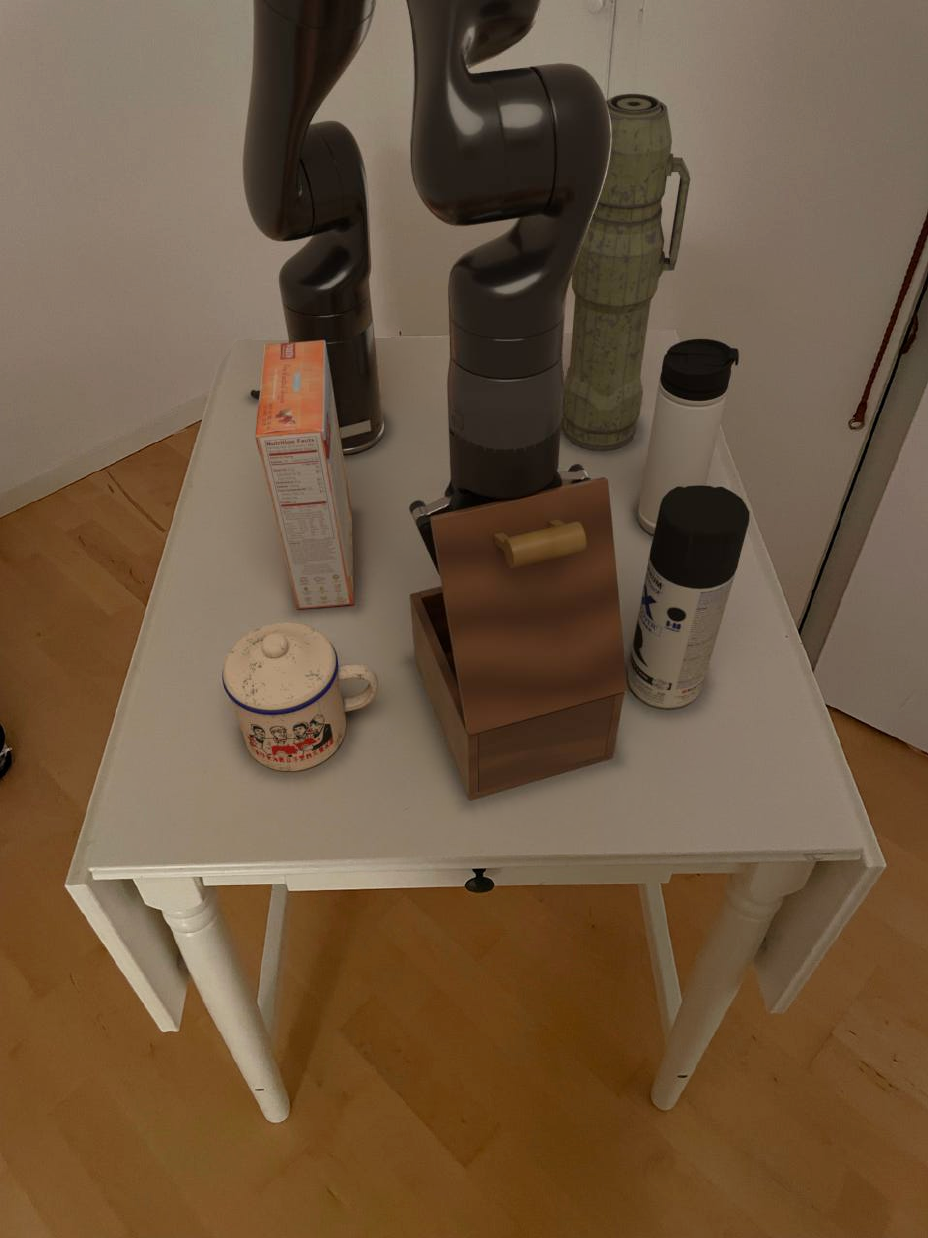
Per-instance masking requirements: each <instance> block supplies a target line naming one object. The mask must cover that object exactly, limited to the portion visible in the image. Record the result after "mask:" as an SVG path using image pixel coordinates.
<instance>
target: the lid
mask: <svg viewBox="0 0 928 1238" xmlns="http://www.w3.org/2000/svg"><path fill="white" fill-rule="evenodd" d="M591 479H592V478H591ZM611 506H612V505H611V494H610V484H609V479H608V478H607V477H605V476H601V477H596V478H593V479H592V480H588V481H584V482H579V483H575V484H571V485H566V486H562V487H557V488H553V489H549V490H544V491H540V492H536V493H533V494H531V495H528V496H525V497H520V498H514V499H505V500H501V501H496V502H492V503H488V504H483V505H479V506H475V507H470V508H466V509H461V510H457V511H453V512H448V513H444V514H440V515H435V516H431V517H430V522H431V528H432V533H433V539H434V545H435V551H436V557H437V563H438V568H439V574H440V576H439V580H440V586H442V592H443V597H444V603H445V609H446V615H447V621H448V627H449V632H450V638H451V644H452V650H453V656H454V661H455V667H456V673H457V679H458V685H459V690H460V696H461V702H462V708H463V714H464V720H465V725H466V731H467V732H468V734H469V735H473V734H476V733H480V732H483V731H487V730H491V729H494V728H498V727H501V726H505V725H508V724H512V723H515V722H519V721H522V720H526V719H530V718H533V717H537V716H540V715H544V714H547V713H551V712H554V711H558V710H561V709H565V708H568V707H572V706H576V705H579V704H583V703H586V702H590V701H593V700H597V699H600V698H604V697H607V696H611V695H614V694H618V693H622V692H624V693H625V692H627V691H628V682H627V681H628V680H627V671H626V660H625V650H624V639H623V628H622V626H623V625H622V617H621V616H622V615H621V605H620V595H619V583H618V573H617V562H616V561H617V560H616V549H615V539H614V529H613V518H612V517H613V516H612V510H611V509H612V507H611ZM439 574H438V575H439Z"/></svg>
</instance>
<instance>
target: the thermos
mask: <svg viewBox="0 0 928 1238" xmlns="http://www.w3.org/2000/svg"><path fill="white" fill-rule="evenodd" d="M606 102H607V105H608V110H609V115H610V120H611V135H612V140H611V151H610V159H609V165H608V170H607V174H606V178H605V181H604V185H603V188H602V191H601V194H600V198H599V200H598V203H597V206H596V208H595V211H594V214H593V216H592V219H591V222H590V224H589V227H588V229H587V232H586V235H585V238H584V240H583V243H582V246H581V249H580V252H579V255H578V259H577V262H576V265H575V268H574V271H573V274H572V277H571V289H572V291H573V294H574V306H573V307H574V308H573V318H572V319H573V320H572V332H571V333H572V334H571V347H570V358H569V359H570V360H569V365H568V369H567V371H566V374H565V377H564V392H563V393H564V406H563V409H562V421H561V431H562V432H561V433H562V434H563V435H564V437H565V438H566V439H567V440H568V441H569V442H570V443H571V444H573V445H575V446H578V447H580V448H582V449H585V450H586V449H587V450H591V451H601V452H602V451H604V452H605V451H606V452H607V451H612V450H618V449H620V448H622V447H625V446H627V445H628V444H629V443H630V442H631V441H633V439H634V437H635V435H636V432H637V421H638V419H639V416H640V415H641V407H642V401H643V396H644V395H643V394H644V391H643V382H642V379H641V374H642V366H643V359H644V352H645V346H646V340H647V339H646V338H647V332H648V323H649V318H650V311H651V310H650V309H651V304H652V303H651V302H652V300H653V298H654V296H655V294H656V292H657V291H658V288H659V287H658V286H659V279H660V278H661V277H662V275H663V273H664V272H669V271H675V268H676V264H677V261H678V258H679V257H678V256H679V252H680V245H681V241H682V233H683V229H684V228H683V226H684V221H685V214H686V208H687V202H688V195H689V190H690V184H691V177H690V176H691V175H690V171H689V169H688V167H687V165H686V163H685V160H684V158H683V157H678V156H677V157H675V156H674V153H671V152H672V151H671V150H672V143H673V137H672V130H671V129H672V128H671V123H670V118H669V117H670V116H669V111H668V107H667V105H666V104H665V103H664V102H663V101H660V100H659V99H658V98H657V97H654V96H652V95H648V94H643V93H623V94H618V95H614V96H612V97H610V98H609V99H606ZM673 173H678V175H679V183H678V188H677V189H678V190H677V194H676V195H677V196H676V203H675V210H674V215H673V221H672V229H671V235H670V242H669V249H668V250H669V251H668V257H666V254H665V251H664V246H665V237H664V231H663V226H662V215H663V206H662V202H663V201H662V199H663V198H664V196H665V194H666V187H667V181H668V177H672V174H673Z"/></svg>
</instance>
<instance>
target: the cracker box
mask: <svg viewBox="0 0 928 1238" xmlns="http://www.w3.org/2000/svg"><path fill="white" fill-rule="evenodd" d="M259 390H260V397H259V400H258V405H257V407H258V408H257V416H256V426H255V436H254V437H255V441H256V445H257V449H258V454H259V457H260V460H261V465H262V469H263V474H264V478H265V482H266V485H267V490H268V494H269V498H270V502H271V505H272V510H273V514H274V518H275V519H274V520H275V523H276V528H277V531H278V536H279V540H280V544H281V548H282V552H283V556H284V559H285V565H286V570H287V573H288V577H289V581H290V585H291V588H292V593H293V598H294V602H295V605H296V609H297V610H308V609H319V608H330V607H332V608H333V607H342V606H343V607H344V606H353V605H355V593H354V592H355V588H354V587H355V586H354V585H355V584H354V546H353V543H354V542H353V540H354V539H353V510H352V502H351V495H350V490H349V483H348V477H347V471H346V470H347V469H346V464H345V458H344V454H343V451H342V445H341V438H340V432H339V425H338V419H337V412H336V406H335V399H334V393H333V386H332V380H331V373H330V367H329V361H328V355H327V349H326V343H325V340H318V341H307V342H295V343H289V342H282V343H270V344H264V345H263V356H262V365H261V377H260V387H259Z"/></svg>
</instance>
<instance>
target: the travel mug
mask: <svg viewBox="0 0 928 1238" xmlns="http://www.w3.org/2000/svg"><path fill="white" fill-rule="evenodd" d="M739 353H740V352H739V349H738V348H736V347H731V346H729V345H728V344H726V343H724V342H723V341H720V340H715V339H711V338H693V339H687V340H683V341H679V342H677V343H674V344H673V345H672V346H670V347H669V348H668V349H667V350H666V353H665V354H664V356H663V360H662V367H661V372H660V375H659V380H658V386H657V392H656V393H657V394H656V398H655V404H654V409H653V410H654V411H653V418H652V423H651V428H650V434H649V435H650V436H649V441H648V447H647V453H646V460H645V464H644V465H645V466H644V472H643V478H642V485H641V491H640V497H639V504H638V509H637V521H638V523H639V525H640V527H641V528H642V529H643V530H644V531H645V532H646V533H648V534H651V535H652V536H654V532H655V527H656V523H657V518H658V513H659V508H660V504H661V501H662V499H663V498H664V496H665V495H666V494H667V493H668V492H669V491H670V490H672V489H674V488H676V487H677V486H682V487H684V488H685V487H687V486H697V485H703V486H707V483H708V480H709V476H710V475H709V474H710V472H711V471H710V470H711V466H712V462H713V458H714V453H715V449H716V444H717V440H718V435H719V431H720V427H721V423H722V417H723V414H724V409H725V405H726V400H727V395H728V392H729V386H730V380H731V376H732V367H733V364H734V366H736V367H737V366H738V365H739V361H740V360H739V359H740V354H739Z"/></svg>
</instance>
